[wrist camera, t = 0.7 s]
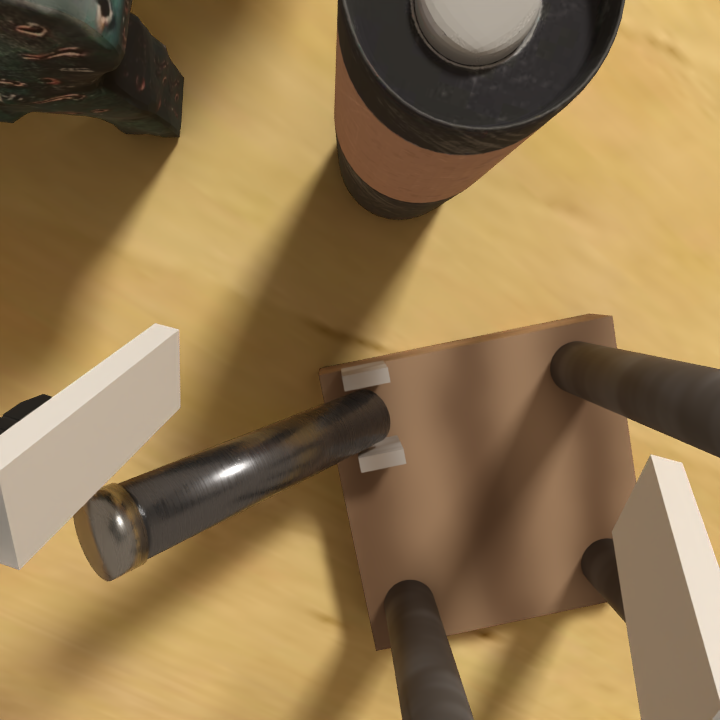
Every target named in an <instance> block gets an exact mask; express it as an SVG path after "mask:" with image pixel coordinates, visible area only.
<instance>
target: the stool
mask: <svg viewBox="0 0 720 720" xmlns="http://www.w3.org/2000/svg"><path fill="white" fill-rule="evenodd" d="M319 379H320V383H321V388H322V393H323V398H324V403H327V402H329V401H332V400H334V399H337V398H339V397H342V396H345V395H347V394H350V393H352V392H355V391H357V390H360V389H367V390H371V391H373V392H374V393H376V394H377V395H378V396H379V397H380V398H381V399H382V400H383V401H384V403H385V405H386V407H387V409H388V411H389V415H390V430H389V433H388V435H387V436H386V438H385V439H384V440H382V441H380V442H378V443H376V444H375V445H373V446H371V447H369V448H367V449H365V450H363V451H361V452H359V453H357V454H355V455H353V456H351V457H349V458H347V459H345V460H343V461H341V462H339V463H337V465H338V470H339V475H340V479H341V484H342V489H343V494H344V498H345V503H346V508H347V513H348V518H349V522H350V527H351V532H352V537H353V542H354V546H355V551H356V556H357V561H358V566H359V570H360V575H361V580H362V585H363V590H364V594H365V599H366V604H367V609H368V613H369V618H370V623H371V628H372V633H373V637H374V642H375V647H376V651H378V650H383V649H387V648H391V651H392V657H393V664H394V670H395V676H396V682H397V689H398V695H399V701H400V708H401V714H402V720H474V718H473V715H472V712H471V709H470V706H469V703H468V700H467V697H466V694H465V691H464V688H463V685H462V682H461V678H460V675H459V672H458V669H457V666H456V663H455V660H454V657H453V654H452V651H451V648H450V645H449V642H448V639H447V636H449V635H453V634H458V633H463V632H467V631H472V630H477V629H482V628H486V627H491V626H496V625H501V624H505V623H510V622H515V621H519V620H524V619H529V618H534V617H538V616H543V615H548V614H552V613H557V612H562V611H567V610H571V609H576V608H581V607H585V606H590V605H595V604H600V603H604V602H608V603H609V604H610V606H611V607H612V608H613V609H614V610H615V611H616V612H617V614H618V615H619V616H620V617H621V618H622V619H623V620H624V621H625V623H626V619H625V613H624V607H623V600H622V594H621V587H620V581H619V575H618V568H617V562H616V555H615V549H614V542H613V536H612V530H613V528H614V526H615V524H616V523H617V521H618V519H619V517H620V515H621V513H622V511H623V509H624V507H625V505H626V503H627V501H628V499H629V497H630V495H631V493H632V491H633V489H634V487H635V485H636V478H635V471H634V464H633V457H632V450H631V443H630V436H629V429H628V422H627V418H629V419H631V420H633V421H636V422H638V423H640V424H643V425H645V426H647V427H650V428H652V429H654V430H657V431H659V432H661V433H664V434H666V435H668V436H671V437H673V438H675V439H678V440H680V441H682V442H684V443H687V444H689V445H691V446H694V447H696V448H698V449H701V450H703V451H705V452H708V453H710V454H712V455H715V456H717V457H719V458H720V369H716V368H711V367H706V366H701V365H696V364H691V363H686V362H681V361H676V360H671V359H666V358H661V357H656V356H651V355H646V354H641V353H636V352H631V351H626V350H621V349H617V345H616V338H615V331H614V324H613V317H612V316H609V315H597V314H586V315H581V316H576V317H571V318H566V319H561V320H556V321H551V322H546V323H542V324H537V325H532V326H527V327H522V328H517V329H512V330H507V331H502V332H497V333H492V334H487V335H482V336H477V337H472V338H467V339H462V340H457V341H452V342H447V343H442V344H437V345H432V346H428V347H423V348H418V349H413V350H408V351H403V352H398V353H393V354H388V355H383V356H378V357H373V358H368V359H363V360H358V361H353V362H348V363H343V364H338V365H333V366H328V367H323V368H320V371H319Z"/></svg>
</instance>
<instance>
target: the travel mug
mask: <svg viewBox="0 0 720 720" xmlns="http://www.w3.org/2000/svg"><path fill="white" fill-rule="evenodd" d="M624 3H625V0H338V14H337V45H336V76H335V108H334V119H335V130H336V139H337V149H338V158H339V166H340V170H341V175H342V178H343V180H344V183H345V185H346V187H347V189H348V191H349V192H350V194H351V195H352V196H353V198H354V199H355V200H356V201H357V202H358V203H359V204H360V205H361V206H362V207H364V208H365V209H366V210H368V211H370V212H371V213H373V214H376V215H378V216H381V217H384V218H388V219H398V220H402V219H410V218H414V217H418V216H420V215H423V214H425V213H427V212H429V211H431V210H433V209H434V208H436V207H438V206H439V205H441V204H443V203H444V202H446V201H448V200H449V199H451V198H452V197H454V196H456V195H457V194H459V193H461V192H462V191H464V190H465V189H467V188H468V187H469V186H471V185H472V184H473V183H475V182H476V181H477V180H478V179H479V178H481V177H482V176H483V175H484V174H485V173H487V172H488V171H489V170H490V169H491V168H493V167H494V166H495V165H496V164H497V163H499V162H500V161H501V160H502V159H503V158H505V157H506V156H507V155H508V154H509V153H511V152H512V151H513V150H514V149H515V148H517V147H518V146H519V145H520V144H521V143H523V142H524V141H525V140H526V139H527V138H529V137H530V136H531V135H532V134H533V133H535V132H536V131H537V130H538V129H539V128H541V127H542V126H543V125H544V124H545V123H547V122H548V121H549V120H550V119H551V118H553V117H554V116H555V115H556V114H557V113H559V112H560V111H561V110H562V109H563V108H565V107H566V106H567V105H568V104H569V103H570V102H571V101H572V100H573V99H574V98H575V97H576V96H577V95H578V94H579V93H580V92H581V91H582V90H583V89H584V88H585V87H586V86H587V84H588V83H589V82H590V81H591V79H592V78H593V77H594V76H595V74H596V73H597V71H598V70H599V68H600V66H601V65H602V63H603V62H604V60H605V58H606V57H607V55H608V53H609V51H610V48H611V46H612V44H613V42H614V40H615V37H616V34H617V31H618V28H619V25H620V22H621V18H622V13H623V8H624Z"/></svg>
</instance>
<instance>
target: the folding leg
mask: <svg viewBox="0 0 720 720" xmlns="http://www.w3.org/2000/svg"><path fill="white" fill-rule="evenodd" d="M389 430H390V415H389V411H388V409H387V407H386V405H385V403H384V401H383V400H382V399H381V398H380V397H379V396H378V395H377V394H376V393H374V392H373V391H371V390H367V389H360V390H357V391H355V392H352V393H350V394H347V395H345V396H342V397H339V398H337V399H334V400H332V401H329V402H327V403H324V404H322V405H319V406H316V407H314V408H311V409H309V410H306V411H304V412H301V413H298V414H296V415H293V416H291V417H288V418H286V419H283V420H280V421H278V422H275V423H273V424H270V425H268V426H265V427H262V428H260V429H257V430H255V431H252V432H250V433H247V434H244V435H242V436H239V437H237V438H234V439H232V440H229V441H227V442H224V443H221V444H219V445H216V446H214V447H211V448H209V449H206V450H203V451H201V452H198V453H196V454H193V455H191V456H188V457H185V458H183V459H180V460H178V461H175V462H173V463H170V464H167V465H165V466H162V467H160V468H157V469H155V470H152V471H149V472H147V473H144V474H142V475H139V476H137V477H134V478H132V479H129V480H126V481H124V482H121V483H119V484H116V483H111V484H109V485H106V486H103V487H101V488H100V489H99V490H98V491H97V492H96V493H95V494H94V495H93V496H92V497H91V498H90V499H89V500H88V501H87V502H86V503H85V504H84V505H83V506H82V507H81V508H80V509H79V510H78V511H77V512H76V513H75V514H74V515H73V518H74V524H75V529H76V533H77V536H78V539H79V542H80V545H81V547H82V550H83V552H84V554H85V556H86V558H87V560H88V562H89V563H90V565H91V567H92V568H93V569H94V571H95V572H96V573H97V574H98V575H99V576H100V577H101V578H102V579H104V580H106V581H112V580H114V579H115V578H117V577H119V576H121V575H123V574H125V573H127V572H129V571H131V570H133V569H135V568H137V567H139V566H141V565H143V564H144V563H145V562H146V561H147V559H149V558H151V557H153V556H155V555H157V554H159V553H161V552H163V551H165V550H167V549H169V548H171V547H173V546H174V545H176V544H178V543H180V542H182V541H184V540H186V539H188V538H190V537H192V536H194V535H196V534H198V533H200V532H202V531H204V530H206V529H208V528H210V527H212V526H214V525H216V524H218V523H220V522H222V521H224V520H226V519H228V518H230V517H232V516H234V515H236V514H238V513H240V512H242V511H244V510H246V509H248V508H250V507H252V506H254V505H256V504H258V503H260V502H262V501H264V500H266V499H268V498H270V497H272V496H274V495H275V494H277V493H279V492H281V491H283V490H285V489H287V488H289V487H291V486H293V485H295V484H297V483H299V482H301V481H303V480H305V479H307V478H309V477H311V476H313V475H315V474H317V473H319V472H321V471H323V470H325V469H327V468H329V467H331V466H333V465H335V464H337V463H339V462H341V461H343V460H345V459H347V458H349V457H351V456H353V455H355V454H357V453H359V452H361V451H363V450H365V449H367V448H369V447H371V446H373V445H375V444H376V443H378V442H380V441H382V440H384V439H385V438H386V436H387V435H388V433H389Z"/></svg>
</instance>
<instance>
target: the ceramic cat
mask: <svg viewBox="0 0 720 720" xmlns="http://www.w3.org/2000/svg"><path fill="white" fill-rule="evenodd" d="M131 5H132V0H0V122H8V123H14V122H15V121H16V120H18V119H19V118H21V117H22V116H24V115H25V114H27V113H30V112H43V113H56V114H68V115H80V116H90V117H95V118H100V119H103V120H105V121H107V122H109V123H112V124H113V125H115V126H116V127H117V128H118V129H119V130H120V131H122V132H124V133H126V134H151V135H156V136H161V137H180V128H181V118H182V99H183V83H184V77H183V76H182V75H181V73H180V72H179V71H178V69H177V68H176V66H175V65H174V64H173V63H172V61H171V60H170V57H169V55H168V52H167V49H166V46H165V45H163V44H162V43H161V42H159V41H158V40H157V39H155V38H154V37H153V36H152V35H151V34H150V32H149V31H148V29H147V28H146V27H145V26H144V25H143V24H142V22H141V21H140V19H139V18H138V17H137V16H136V15H134V14H132V13H130V10H131Z"/></svg>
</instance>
